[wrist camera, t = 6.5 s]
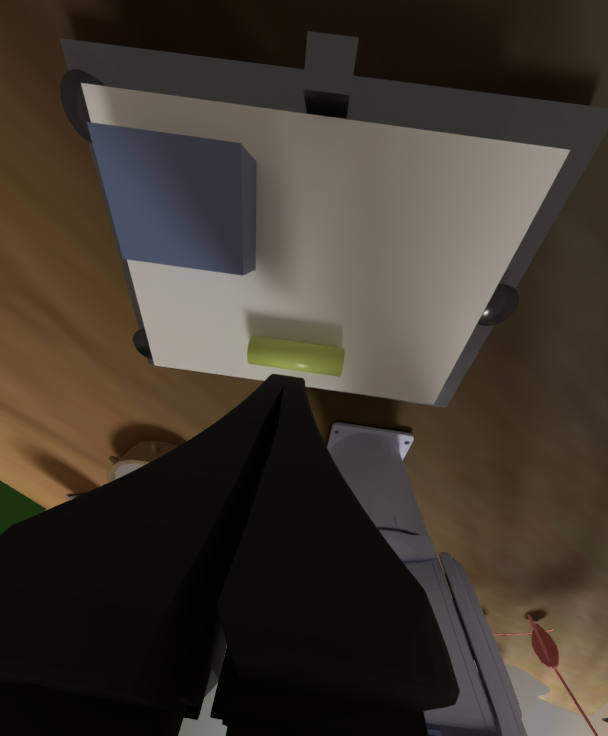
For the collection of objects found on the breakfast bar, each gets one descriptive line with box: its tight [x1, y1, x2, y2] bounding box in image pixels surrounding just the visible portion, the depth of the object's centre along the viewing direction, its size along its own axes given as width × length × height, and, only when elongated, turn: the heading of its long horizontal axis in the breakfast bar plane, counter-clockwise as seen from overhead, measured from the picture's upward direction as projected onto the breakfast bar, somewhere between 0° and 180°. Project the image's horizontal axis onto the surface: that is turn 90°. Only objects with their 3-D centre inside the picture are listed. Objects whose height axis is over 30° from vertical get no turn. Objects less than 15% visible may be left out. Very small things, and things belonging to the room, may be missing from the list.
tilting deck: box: [81, 83, 570, 404], centre depth 11 cm, size 18×12×3 cm, turn 83°
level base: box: [60, 31, 608, 408], centre depth 13 cm, size 25×17×6 cm
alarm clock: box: [107, 441, 178, 483], centre depth 28 cm, size 11×5×15 cm
